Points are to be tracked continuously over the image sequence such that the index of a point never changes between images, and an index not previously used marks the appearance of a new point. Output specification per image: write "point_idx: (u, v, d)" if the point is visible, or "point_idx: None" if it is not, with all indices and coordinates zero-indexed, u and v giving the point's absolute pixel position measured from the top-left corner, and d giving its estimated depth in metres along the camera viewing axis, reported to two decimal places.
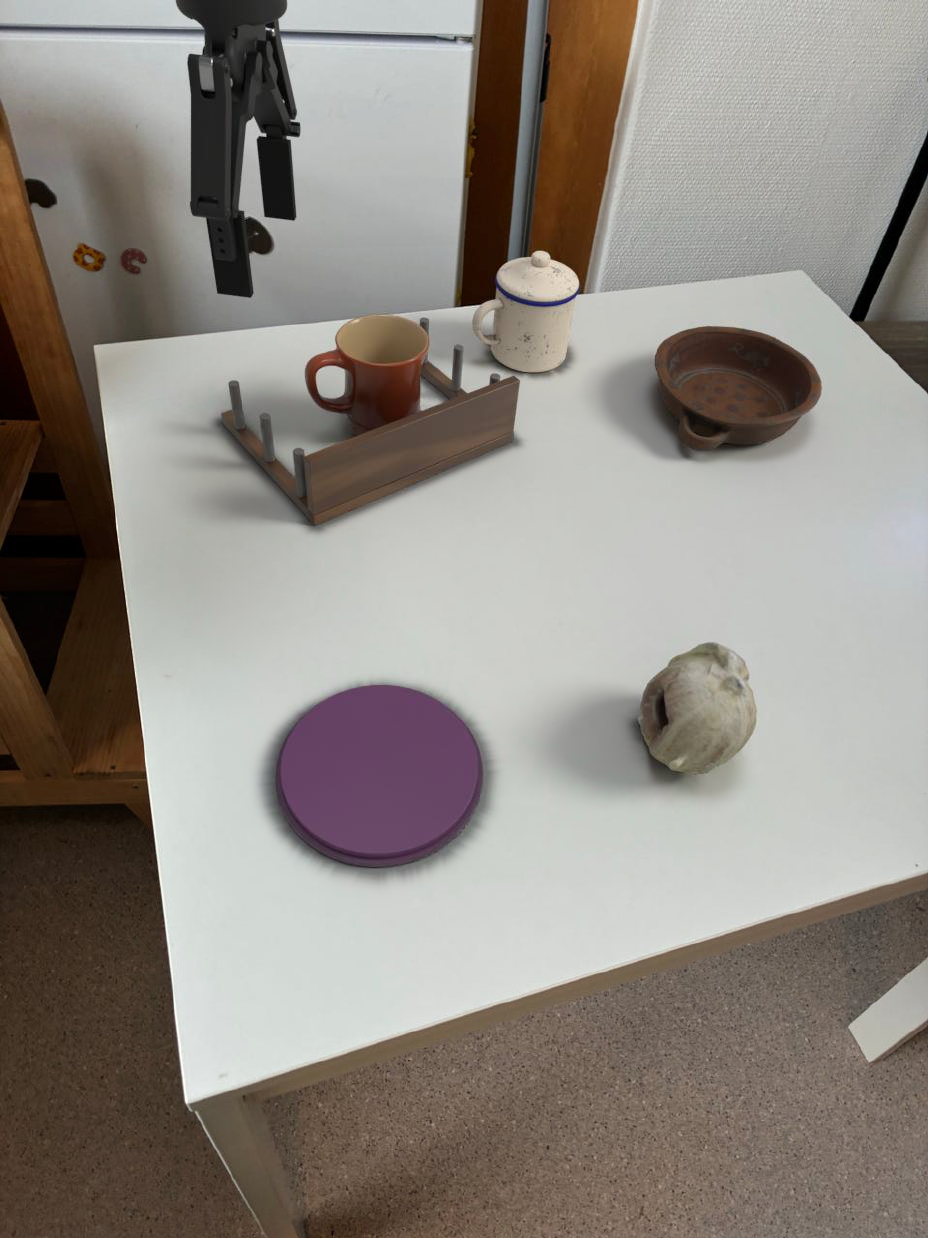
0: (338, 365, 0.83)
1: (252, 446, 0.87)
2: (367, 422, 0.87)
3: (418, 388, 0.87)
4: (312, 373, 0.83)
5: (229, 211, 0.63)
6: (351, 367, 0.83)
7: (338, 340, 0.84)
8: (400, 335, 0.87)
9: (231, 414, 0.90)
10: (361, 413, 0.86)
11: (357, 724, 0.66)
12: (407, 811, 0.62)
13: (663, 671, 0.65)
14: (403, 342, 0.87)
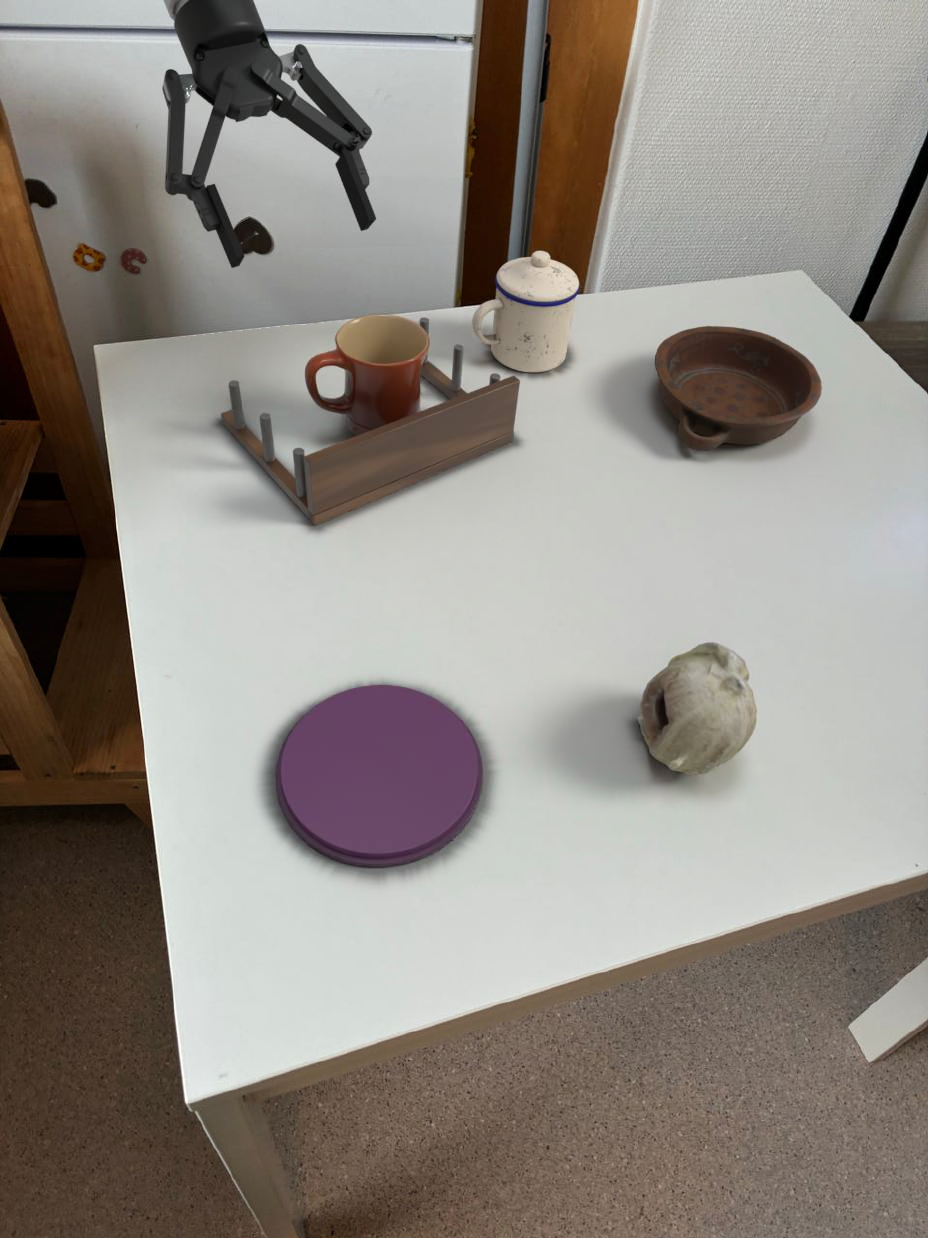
0: (338, 365, 0.83)
1: (252, 446, 0.87)
2: (367, 422, 0.87)
3: (418, 388, 0.87)
4: (312, 373, 0.83)
5: None
6: (351, 367, 0.83)
7: (338, 339, 0.84)
8: (400, 335, 0.87)
9: (231, 414, 0.90)
10: (361, 413, 0.86)
11: (357, 724, 0.66)
12: (407, 811, 0.62)
13: (663, 671, 0.65)
14: (403, 342, 0.87)
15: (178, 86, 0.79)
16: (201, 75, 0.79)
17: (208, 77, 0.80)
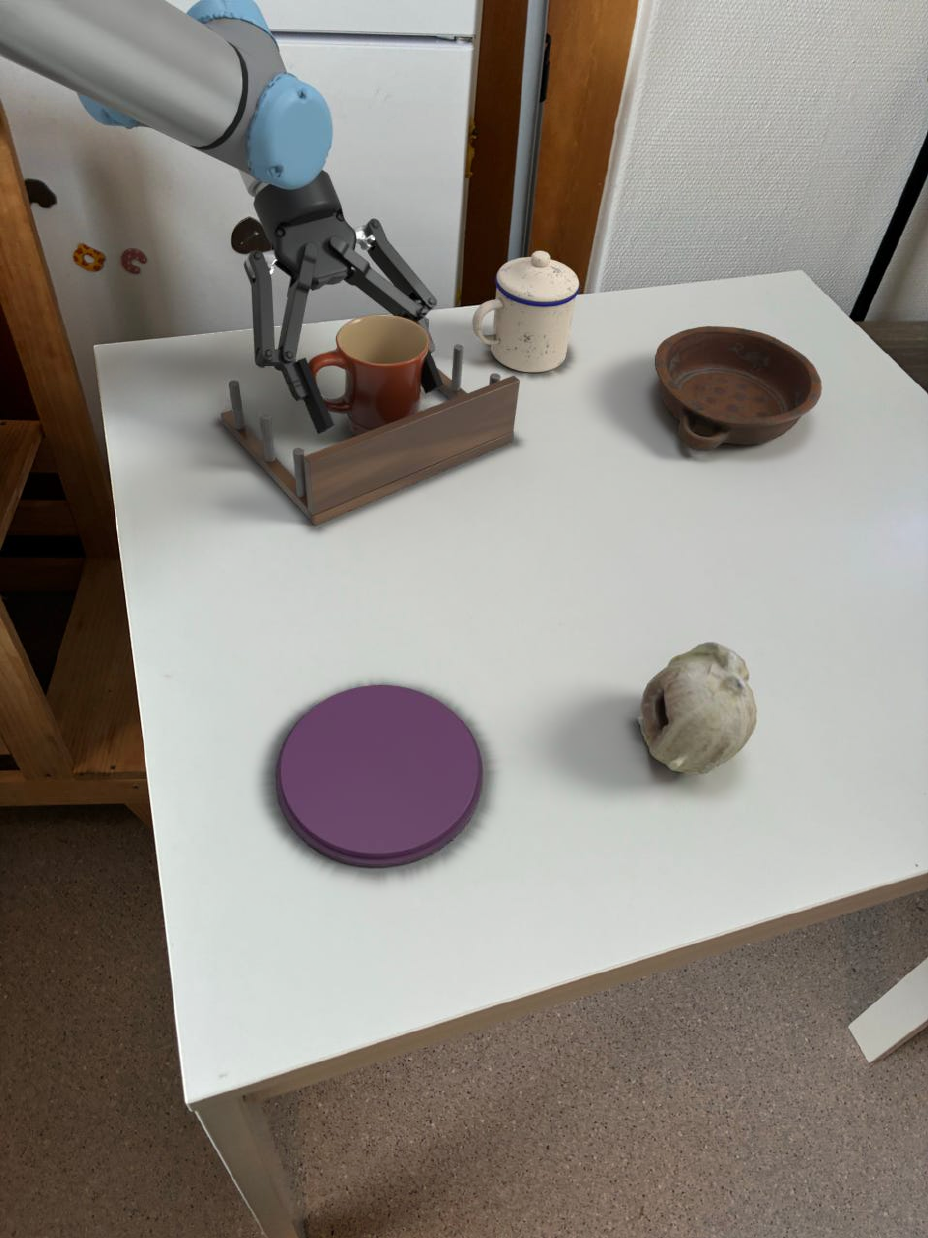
0: (339, 365, 0.83)
1: (252, 446, 0.87)
2: (367, 422, 0.87)
3: (418, 388, 0.87)
4: (313, 373, 0.83)
5: None
6: (351, 367, 0.83)
7: (339, 340, 0.84)
8: (400, 335, 0.87)
9: (231, 414, 0.90)
10: (361, 413, 0.86)
11: (357, 724, 0.66)
12: (407, 811, 0.62)
13: (663, 671, 0.65)
14: (403, 342, 0.87)
15: (263, 265, 0.80)
16: (282, 251, 0.81)
17: (289, 252, 0.81)
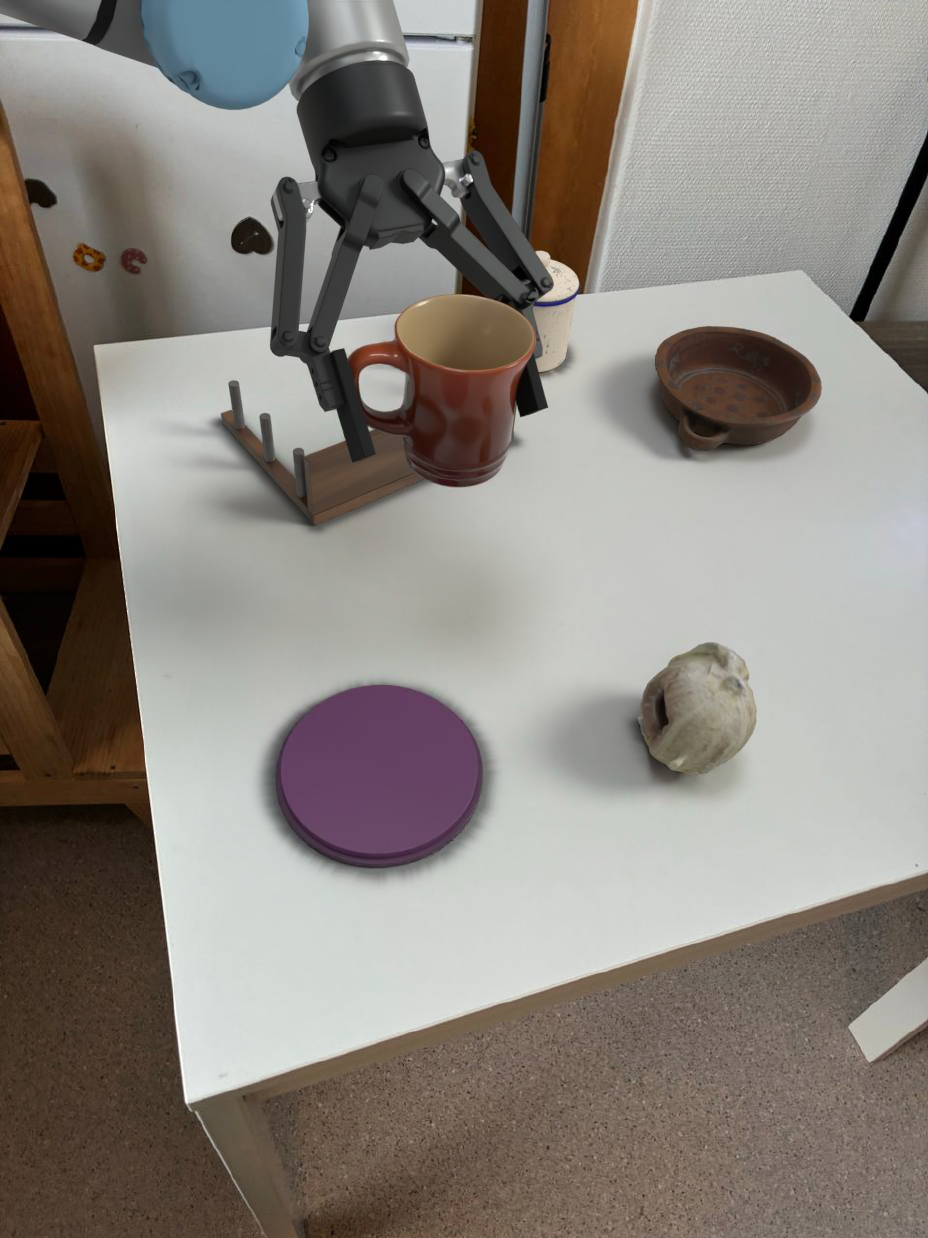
0: (393, 364, 0.55)
1: (252, 446, 0.87)
2: (429, 452, 0.59)
3: (511, 410, 0.58)
4: (354, 373, 0.55)
5: None
6: (412, 370, 0.55)
7: (399, 326, 0.56)
8: (494, 328, 0.59)
9: (231, 414, 0.90)
10: (422, 437, 0.58)
11: (357, 724, 0.66)
12: (407, 811, 0.62)
13: (663, 671, 0.65)
14: (497, 339, 0.59)
15: (296, 202, 0.53)
16: (329, 183, 0.54)
17: (339, 187, 0.54)
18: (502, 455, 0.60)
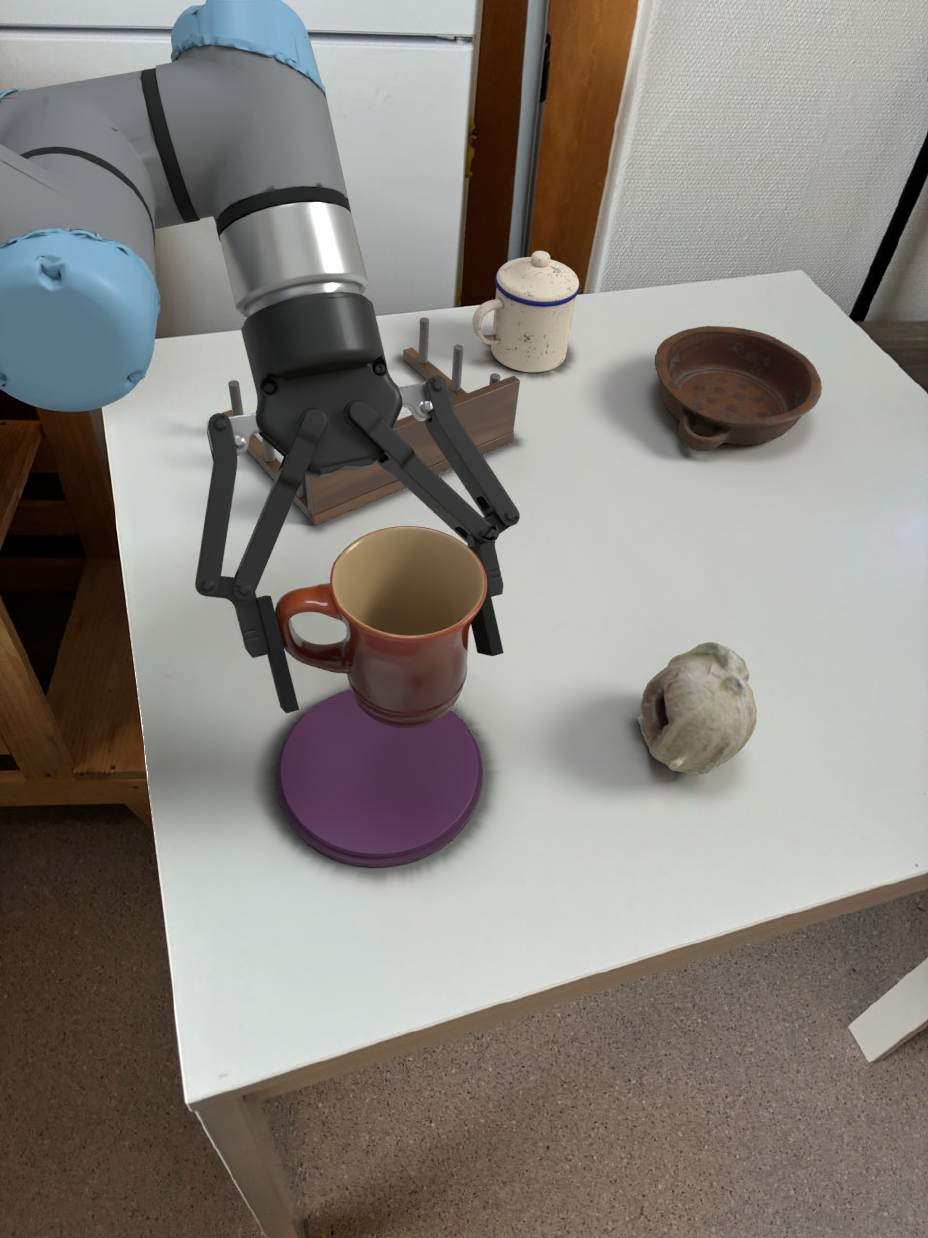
0: (325, 614, 0.50)
1: (252, 446, 0.87)
2: (369, 695, 0.53)
3: (459, 658, 0.53)
4: (282, 620, 0.50)
5: None
6: (345, 622, 0.50)
7: (337, 569, 0.51)
8: (448, 565, 0.53)
9: (231, 414, 0.90)
10: (360, 681, 0.53)
11: (357, 724, 0.66)
12: (407, 811, 0.62)
13: (663, 671, 0.65)
14: (451, 577, 0.53)
15: (227, 440, 0.48)
16: (267, 418, 0.49)
17: (278, 422, 0.49)
18: (452, 698, 0.55)
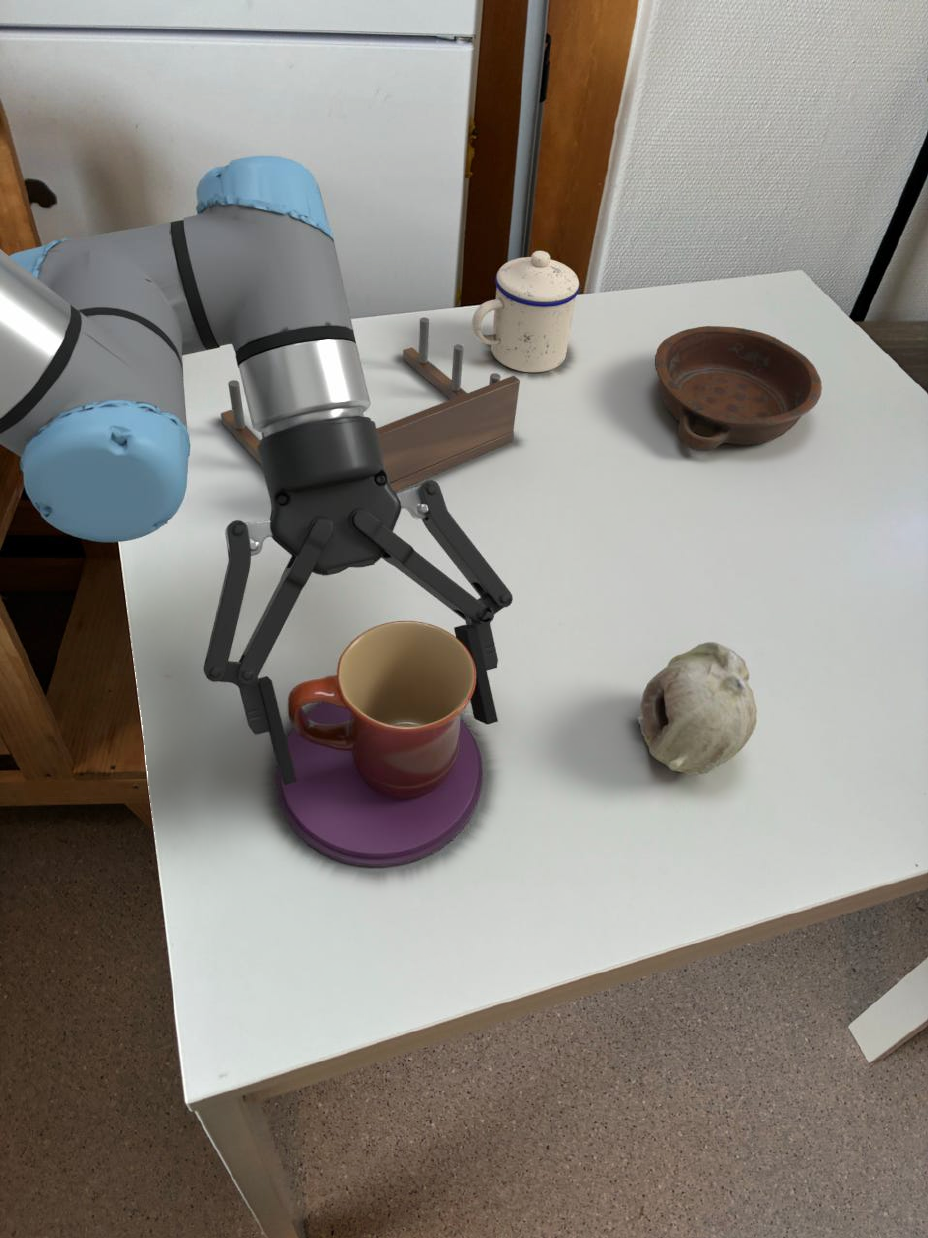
0: (333, 704, 0.56)
1: (252, 446, 0.87)
2: (370, 771, 0.60)
3: (452, 739, 0.59)
4: (294, 709, 0.56)
5: None
6: (350, 711, 0.56)
7: (343, 663, 0.57)
8: (442, 656, 0.60)
9: (231, 414, 0.90)
10: (363, 759, 0.59)
11: None
12: (407, 811, 0.62)
13: (663, 671, 0.65)
14: (445, 666, 0.60)
15: (243, 544, 0.54)
16: (280, 526, 0.55)
17: (290, 530, 0.55)
18: (445, 773, 0.61)
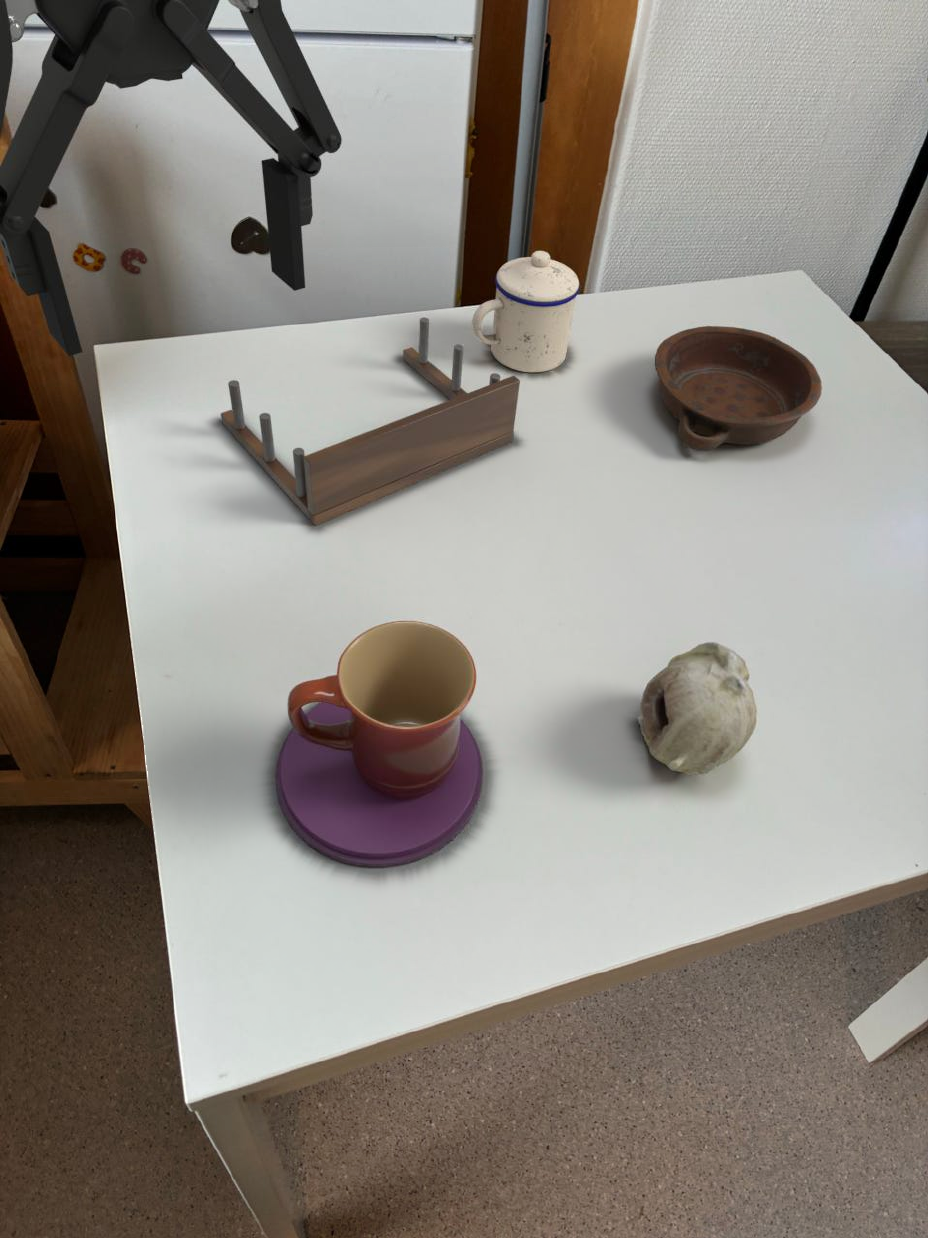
0: (333, 704, 0.56)
1: (252, 446, 0.87)
2: (371, 771, 0.60)
3: (452, 739, 0.59)
4: (294, 709, 0.56)
5: None
6: (350, 711, 0.56)
7: (343, 663, 0.57)
8: (442, 656, 0.60)
9: (231, 414, 0.90)
10: (363, 759, 0.59)
11: None
12: (407, 811, 0.62)
13: (663, 671, 0.65)
14: (445, 666, 0.60)
15: (0, 28, 0.37)
16: (54, 4, 0.38)
17: (68, 11, 0.38)
18: (445, 773, 0.61)
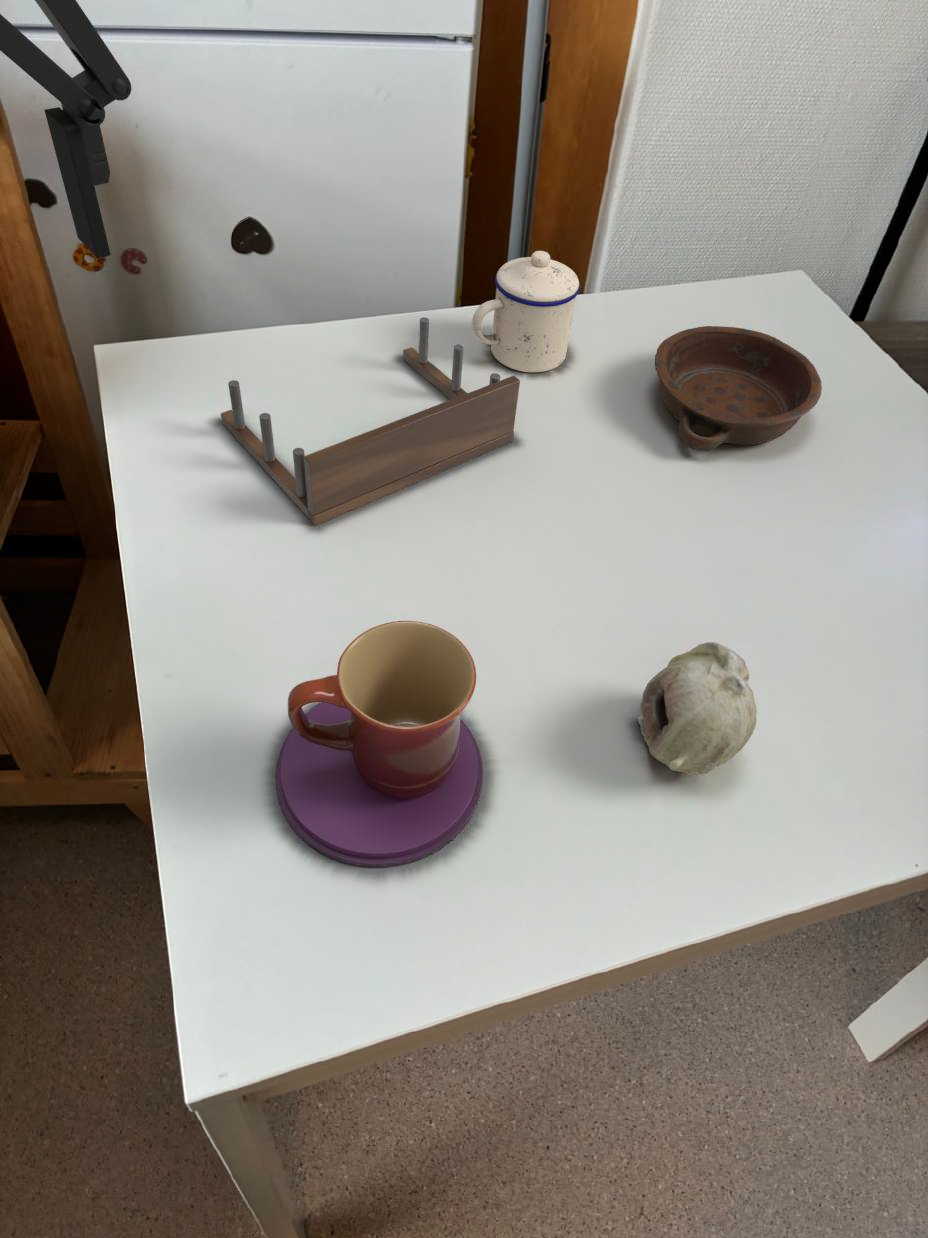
0: (333, 704, 0.56)
1: (252, 446, 0.87)
2: (371, 771, 0.60)
3: (452, 739, 0.59)
4: (294, 709, 0.56)
5: None
6: (350, 711, 0.56)
7: (343, 663, 0.57)
8: (442, 656, 0.60)
9: (231, 414, 0.90)
10: (363, 759, 0.59)
11: None
12: (407, 811, 0.62)
13: (663, 671, 0.65)
14: (445, 666, 0.60)
15: None
16: None
17: None
18: (445, 773, 0.61)
